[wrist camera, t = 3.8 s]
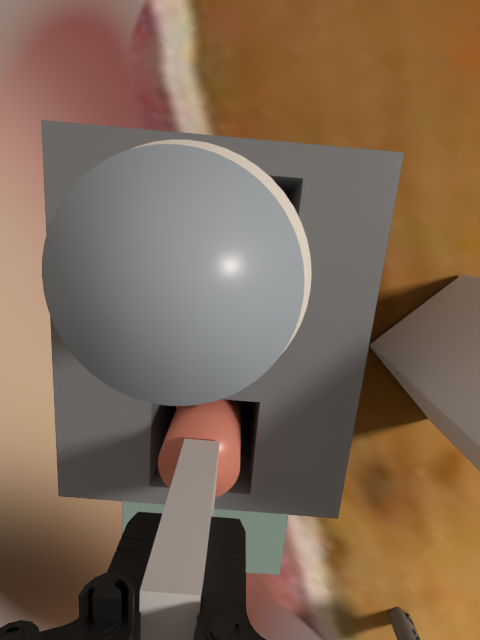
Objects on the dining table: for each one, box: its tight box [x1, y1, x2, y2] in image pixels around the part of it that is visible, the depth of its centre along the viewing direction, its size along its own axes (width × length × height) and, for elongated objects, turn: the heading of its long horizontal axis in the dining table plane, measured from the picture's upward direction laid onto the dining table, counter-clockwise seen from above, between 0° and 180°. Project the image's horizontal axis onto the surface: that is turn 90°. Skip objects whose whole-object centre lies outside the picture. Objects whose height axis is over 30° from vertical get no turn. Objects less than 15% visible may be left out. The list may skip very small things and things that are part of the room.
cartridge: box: [42, 139, 312, 406], centre depth 14 cm, size 5×5×16 cm
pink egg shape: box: [158, 399, 241, 498], centre depth 19 cm, size 4×4×8 cm
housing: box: [41, 120, 404, 519], centre depth 19 cm, size 14×17×7 cm
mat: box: [122, 501, 288, 575], centre depth 26 cm, size 12×9×1 cm
